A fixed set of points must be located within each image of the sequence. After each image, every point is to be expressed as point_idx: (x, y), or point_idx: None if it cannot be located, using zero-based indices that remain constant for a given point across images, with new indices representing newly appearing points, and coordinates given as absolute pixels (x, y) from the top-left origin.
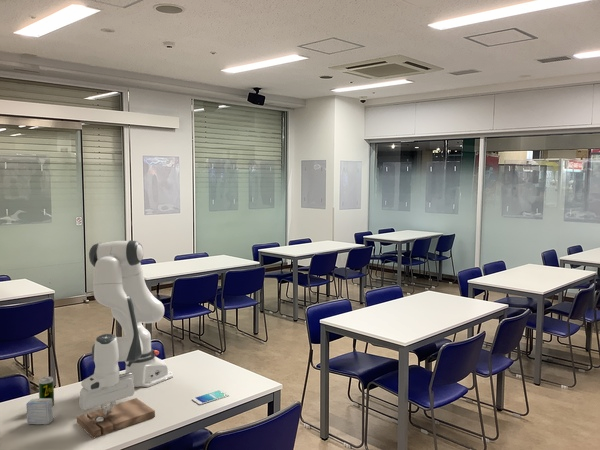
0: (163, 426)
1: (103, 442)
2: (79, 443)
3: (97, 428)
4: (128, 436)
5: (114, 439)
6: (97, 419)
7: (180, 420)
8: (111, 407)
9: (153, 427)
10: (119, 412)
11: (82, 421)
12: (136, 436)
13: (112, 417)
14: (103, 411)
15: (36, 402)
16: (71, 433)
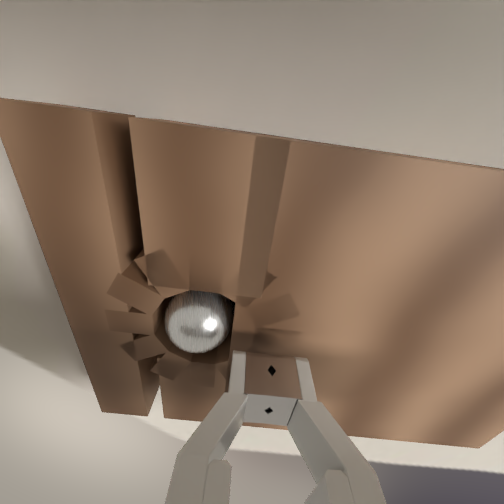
0: (380, 458)
1: (151, 414)
2: (53, 367)
3: (132, 406)
4: (247, 435)
5: (195, 422)
6: (170, 338)
7: (452, 465)
8: (295, 438)
9: (355, 445)
10: (362, 349)
11: (52, 272)
12: (267, 447)
13: None
14: (231, 364)
15: None
16: (8, 255)
